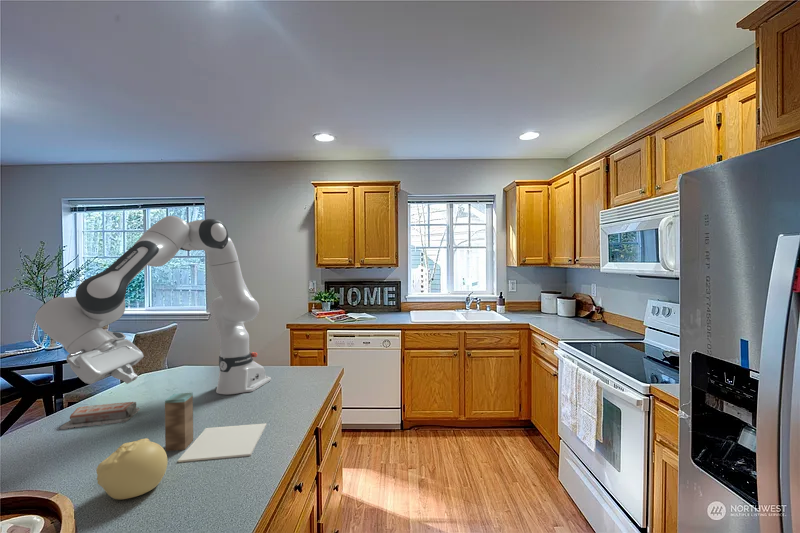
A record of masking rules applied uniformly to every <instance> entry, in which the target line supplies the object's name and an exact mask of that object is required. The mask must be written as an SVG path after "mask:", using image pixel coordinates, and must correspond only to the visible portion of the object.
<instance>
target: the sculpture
mask: <svg viewBox="0 0 800 533" xmlns="http://www.w3.org/2000/svg"><path fill="white" fill-rule="evenodd" d="M168 460H169V459H168V456H167V451H166V449H164V447H162V446H161V445H160V444H159V443H157V442H153V441H151V440H150V439H149V438H140V439H139V440H134V441H131V442H124V443H123V444H122V445H120V446H119V447H117V449H116V450H115V451H113V452H112V453H111V454H110V455H109V456H108V457H107V458H105V459H104V460H102V461H101V462H100V463H99V464H98V465H97V467H96V469H95V470H96V476H97V477H96V480H97V484H98V486H100V487H101V488H103V490H104V491H105V493H106V494H107V495H108V497H111V498H112V499H114V500H119V501H120V500H126V499H132V498H136V497H139V496H142V495H144V494H147V493H148V492H150V491H151V490H154V489H155V488H156V487H157V486H158V485H159V484H160V483H161V481H162V479H163V478H164V476H165V474H166V472H167V467H168Z"/></svg>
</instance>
